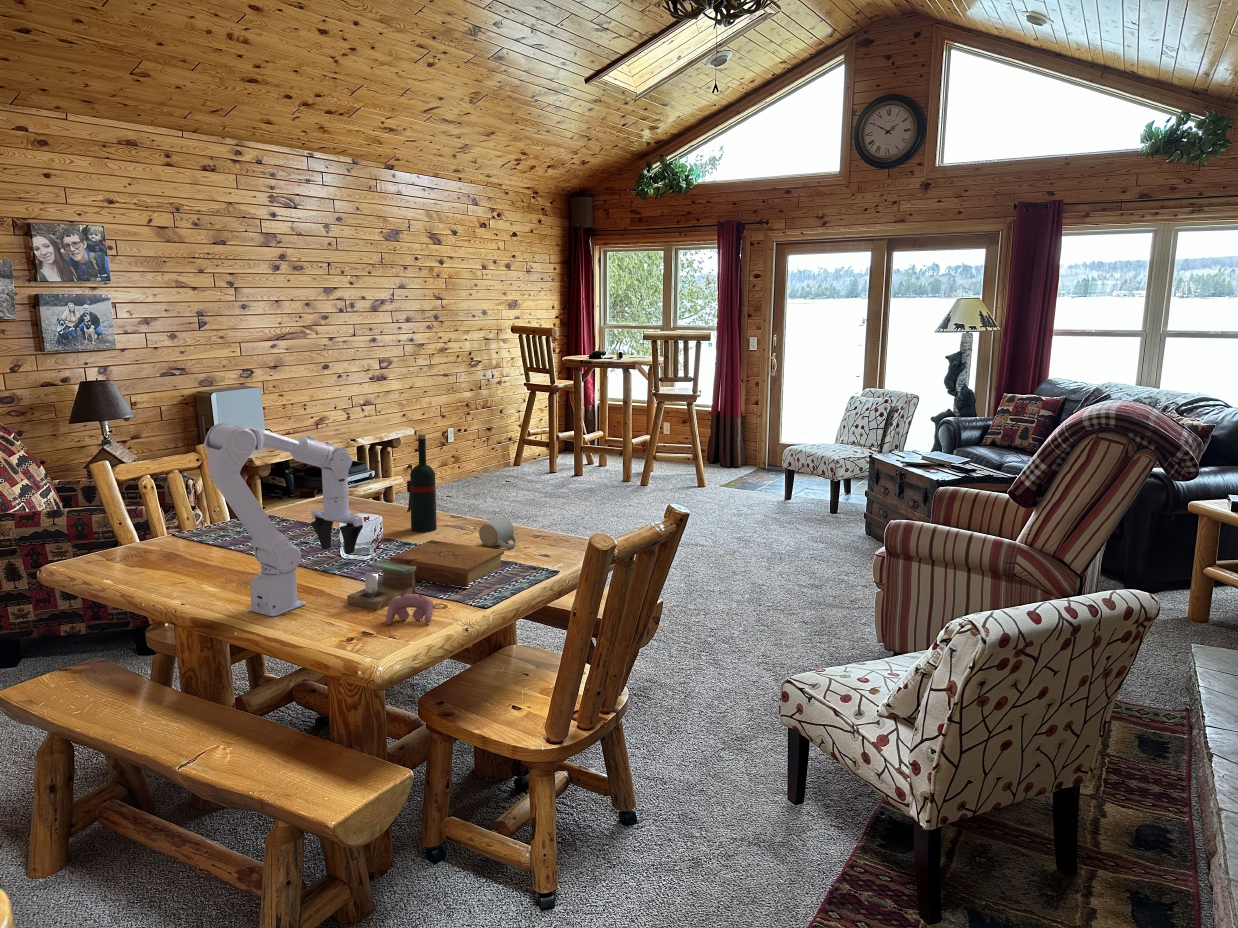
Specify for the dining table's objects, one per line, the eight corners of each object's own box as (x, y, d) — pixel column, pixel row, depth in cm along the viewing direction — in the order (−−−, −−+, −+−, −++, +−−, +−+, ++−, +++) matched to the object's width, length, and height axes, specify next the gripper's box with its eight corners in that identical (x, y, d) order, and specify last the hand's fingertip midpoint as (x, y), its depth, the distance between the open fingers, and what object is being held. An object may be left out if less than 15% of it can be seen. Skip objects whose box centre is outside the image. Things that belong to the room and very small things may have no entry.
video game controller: (433, 626, 180) (435, 594, 182) (430, 624, 176) (432, 592, 178) (388, 626, 180) (391, 594, 182) (383, 624, 175) (386, 592, 177)
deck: (378, 610, 184) (377, 581, 183) (345, 603, 189) (344, 574, 188) (416, 594, 196) (416, 566, 195) (384, 587, 200) (384, 560, 199)
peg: (381, 602, 190) (381, 573, 189) (371, 605, 188) (370, 576, 186) (373, 599, 192) (372, 571, 190) (363, 603, 189) (362, 574, 188)
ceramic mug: (477, 545, 238) (477, 520, 237) (494, 539, 245) (494, 514, 244) (505, 552, 233) (505, 526, 232) (522, 545, 240) (523, 520, 239)
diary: (389, 579, 208) (388, 557, 207) (431, 560, 225) (431, 540, 224) (466, 591, 200) (466, 569, 199) (504, 570, 217) (504, 549, 216)
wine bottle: (415, 523, 261) (413, 431, 256) (441, 527, 257) (440, 434, 251) (399, 529, 254) (397, 434, 248) (426, 533, 250) (424, 437, 244)
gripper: (370, 496, 194) (372, 551, 196) (326, 489, 200) (328, 542, 202) (349, 502, 188) (351, 558, 190) (303, 494, 194) (306, 549, 196)
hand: (337, 551), depth 196 cm, fingers open, 7 cm apart
